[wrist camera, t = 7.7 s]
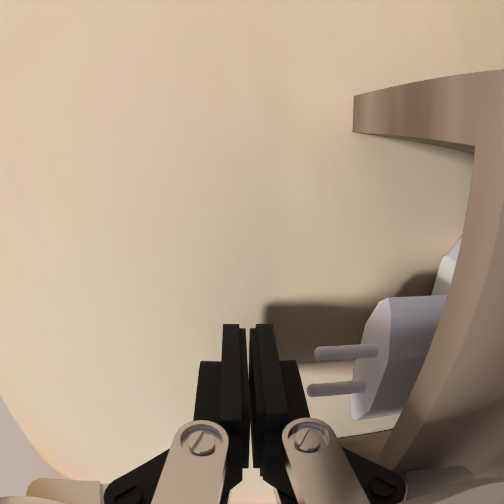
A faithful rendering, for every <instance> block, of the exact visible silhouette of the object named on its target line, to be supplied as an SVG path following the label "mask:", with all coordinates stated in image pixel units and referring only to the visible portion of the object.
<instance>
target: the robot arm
mask: <svg viewBox="0 0 504 504" xmlns="http://www.w3.org/2000/svg"><path fill="white" fill-rule="evenodd" d="M250 424H251V440H252V455H253V468H260V476H263V480H264V481H266V482H267V483H269V484H270V485H272V486H273V490H274V494H275V497H276V500H277V503H278V504H504V477H486V478H479V479H475V477H474V475H473V473H472V472H471V471H470V470H469V469H468V468H465V467H463V466H453V467H446V468H438V469H429V470H419V471H406V473H405V474H400V475H399V474H397V473H395V472H394V471H392V470H389V469H387V468H385V467H383V466H381V465H379V464H376V463H374V462H372V461H370V460H368V459H366V458H364V457H362V456H360V455H358V454H356V453H354V452H352V451H350V450H348V449H346V448H344V447H342V446H341V445H340V443H339V441H338V439H337V437H336V435H335V433H334V431H333V430H332V428H331V427H330V426H329V425H328V424H326V423H325V422H324V421H321V420H318V419H315V418H310V414H309V410H308V406H307V402H306V398H305V394H304V390H303V386H302V382H301V378H300V374H299V370H298V366H297V363H296V361H295V360H289V361H279V357H278V352H277V346H276V341H275V336H274V330H273V325H272V324H256V328H250V343H249V381H248V364H247V347H246V330H245V328H239V324H223V339H222V362H219V361H201V362H200V368H199V376H198V385H197V393H196V402H195V411H194V420H193V421H191V422H189V423H187V424H184V425H183V426H182V427H181V428H179V429H178V431H177V432H176V434H175V436H174V439H173V442H172V445H171V448H170V449H168V450H166V451H165V452H163V453H162V454H160V455H158V456H157V457H155V458H153V459H151V460H150V461H148V462H146V463H145V464H143V465H141V466H139V467H138V468H136V469H134V470H132V471H131V472H129V473H127V474H125V475H123V476H121V477H120V478H118V479H116V480H114V481H113V482H112V483H110V484H101V483H100V481H77V480H60V479H49V478H39V479H37V480H35V481H33V482H32V483H31V484H30V485H29V487H28V489H27V493H26V496H6V497H0V504H229V502H230V497H231V489H232V488H233V487H235V486H236V485H237V484H238V483H240V482H241V481H242V468H248V467H249V440H250Z"/></svg>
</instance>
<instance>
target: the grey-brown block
mask: <svg viewBox="0 0 504 504" xmlns="http://www.w3.org/2000/svg"><path fill="white" fill-rule="evenodd" d="M353 132H356V133H364V134H372V135H379V136H386V137H393V138H399V139H405V140H411V141H417V142H422V143H428V144H433V145H438V146H443V147H448V148H452V149H457V150H461V151H466V152H470V153H474V164H473V173H472V181H471V189H470V196H469V202H468V208H467V214H466V220H465V225H464V230H463V235H462V240H461V244H460V249H459V253H458V257H457V262H456V266H455V270H454V273H453V277H452V281H451V285H450V288H449V292H448V295H447V298H446V302H445V305H444V308H443V311H442V314H441V317H440V320H439V323H438V326H437V329H436V332H435V335H434V338H433V340H432V343H431V346H430V348H429V351H428V354H427V356H426V359H425V361H424V364H423V366H422V369H421V371H420V373H419V376H418V378H417V380H416V383H415V385H414V387H413V389H412V392H411V394H410V396H409V398H408V400H407V402H406V405H405V407H404V409H403V411H402V413H401V415H400V417H399V419H398V421H397V423H396V425H395V427H394V428H393V429H392V430H387V431H382V432H376V433H371V434H365V435H358V436H352V437H345V438H337V439H338V441H339V443H340V445H341V446H342V447H344V448H346V449H348V450H350V451H352V452H354V453H356V454H358V455H360V456H362V457H364V458H366V459H368V460H370V461H372V462H374V463H376V464H379V465H381V466H383V467H385V468H387V469H389V470H392V471H394V472H395V473H397V474H399V475H400V474H405V473H406V471H419V470H429V469H438V468H446V467H453V466H463V467H465V468H468V469H469V470H470V471H471V472H472V473H473V475H474V477H475V479H479V478H486V477H504V70H493V71H484V72H476V73H468V74H461V75H454V76H447V77H441V78H435V79H430V80H424V81H419V82H414V83H409V84H404V85H399V86H395V87H390V88H386V89H381V90H377V91H373V92H369V93H365V94H361V95H357V96H354V111H353Z"/></svg>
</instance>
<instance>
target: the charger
mask: <svg viewBox="0 0 504 504" xmlns="http://www.w3.org/2000/svg"><path fill="white" fill-rule="evenodd" d="M461 240H462V236H461V237H460V239H459V240H458V241H457V242H456V243H455V245H454V246H453V247H452V248H451V249H450V251H449V252H448V253H447V254H446V255H445V256H444V258H443V259H442V261H441V263H440V266H439V269H438V272H437V276H436V280H435V284H434V287H433V291H432V295H431V296H411V297H388V298H386V299H384V300H381V301H379V303H378V305H377V306H376V308H375V309H374V311H373V313H372V314H371V316H370V317H369V319H368V321H367V322H366V324H365V328H364V332H363V336H362V340H361V344H358V345H342V346H323V347H317V348H316V349H315V351H314V357H315V360H316V361H335V360H349V359H356V362H355V366H354V369H353V381H348V382H336V383H323V384H310V385H309V386H308V388H307V393H308V396H310V397H318V396H331V395H342V394H351V418H352V419H354V420H362V419H369V418H375V417H381V416H387V415H393V414H398V413H402V411H403V409H404V407H405V405H406V402H407V400H408V398H409V396H410V394H411V392H412V389H413V387H414V385H415V383H416V380H417V378H418V376H419V373H420V371H421V369H422V366H423V364H424V361H425V359H426V356H427V354H428V351H429V348H430V346H431V343H432V340H433V338H434V335H435V332H436V329H437V326H438V323H439V320H440V317H441V314H442V311H443V308H444V305H445V302H446V298H447V295H448V292H449V288H450V285H451V281H452V277H453V273H454V270H455V266H456V262H457V257H458V253H459V249H460V244H461Z"/></svg>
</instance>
